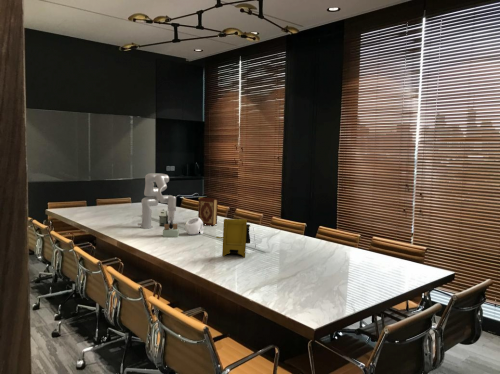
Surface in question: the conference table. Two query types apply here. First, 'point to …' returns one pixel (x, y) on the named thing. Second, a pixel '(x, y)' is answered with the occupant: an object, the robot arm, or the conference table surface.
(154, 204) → the robot arm
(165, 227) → the wooden staple shape
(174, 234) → the pale green box
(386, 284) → the conference table surface
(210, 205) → the decorative book
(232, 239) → the olive boxy piece
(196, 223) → the skull planter
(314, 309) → the conference table surface
